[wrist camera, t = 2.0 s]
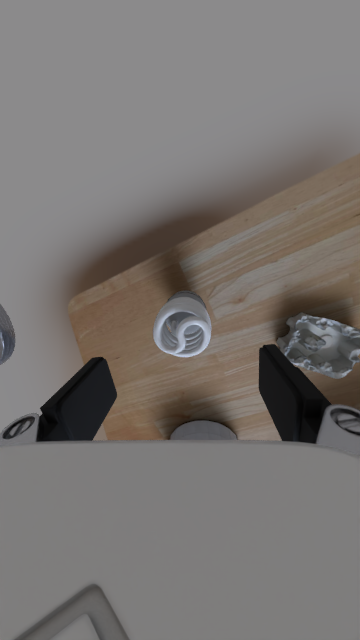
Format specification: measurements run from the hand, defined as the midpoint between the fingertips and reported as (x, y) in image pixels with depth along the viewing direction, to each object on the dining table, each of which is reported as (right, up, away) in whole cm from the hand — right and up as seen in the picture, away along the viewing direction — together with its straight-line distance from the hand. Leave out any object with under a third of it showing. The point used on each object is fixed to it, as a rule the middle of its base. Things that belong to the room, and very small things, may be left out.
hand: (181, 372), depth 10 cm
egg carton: (+20, 0, +16) cm, 26 cm away
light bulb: (+1, +6, +16) cm, 17 cm away
